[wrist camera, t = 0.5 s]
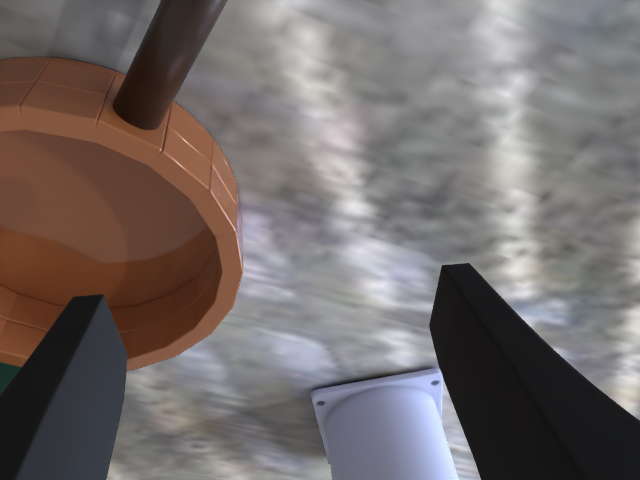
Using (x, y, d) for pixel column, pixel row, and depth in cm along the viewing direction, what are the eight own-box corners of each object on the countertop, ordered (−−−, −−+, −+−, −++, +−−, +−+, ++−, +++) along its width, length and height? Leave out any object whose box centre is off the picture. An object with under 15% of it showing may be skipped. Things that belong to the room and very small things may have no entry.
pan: (165, 340, 27) (157, 400, 25) (-127, 255, 22) (-177, 321, 19) (298, 161, 21) (307, 216, 18) (-64, -24, 15) (-125, 17, 13)
